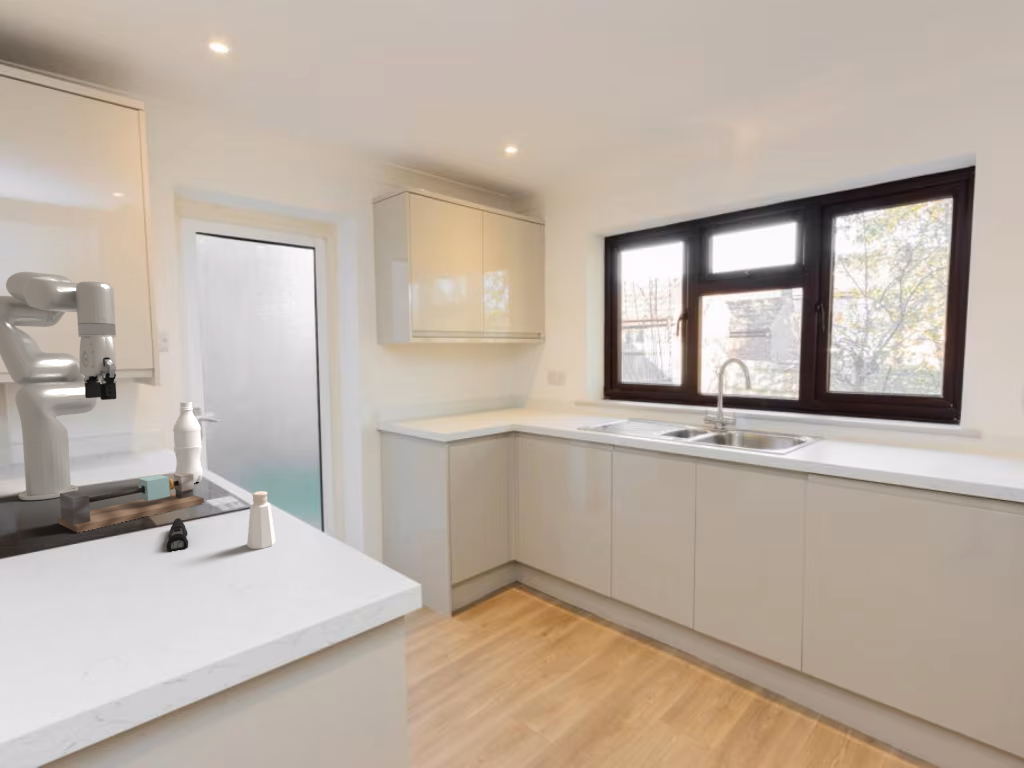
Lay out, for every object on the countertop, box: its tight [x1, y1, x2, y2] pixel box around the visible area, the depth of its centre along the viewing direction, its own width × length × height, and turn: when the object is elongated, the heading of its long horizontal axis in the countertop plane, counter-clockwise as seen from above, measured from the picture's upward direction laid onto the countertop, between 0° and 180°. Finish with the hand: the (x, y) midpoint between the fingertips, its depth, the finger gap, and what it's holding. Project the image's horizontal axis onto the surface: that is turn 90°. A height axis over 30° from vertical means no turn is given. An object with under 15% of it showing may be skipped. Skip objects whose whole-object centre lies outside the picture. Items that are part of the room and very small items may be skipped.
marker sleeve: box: [137, 474, 171, 501], centre depth 135 cm, size 5×5×5 cm
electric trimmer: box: [166, 517, 189, 553], centre depth 113 cm, size 4×16×3 cm, turn 31°
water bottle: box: [172, 401, 204, 484], centre depth 161 cm, size 7×7×25 cm
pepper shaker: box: [246, 490, 277, 550], centre depth 110 cm, size 5×5×11 cm
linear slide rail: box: [57, 472, 205, 534], centre depth 132 cm, size 27×12×8 cm, turn 146°
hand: (100, 398), depth 135 cm, fingers open, 9 cm apart
